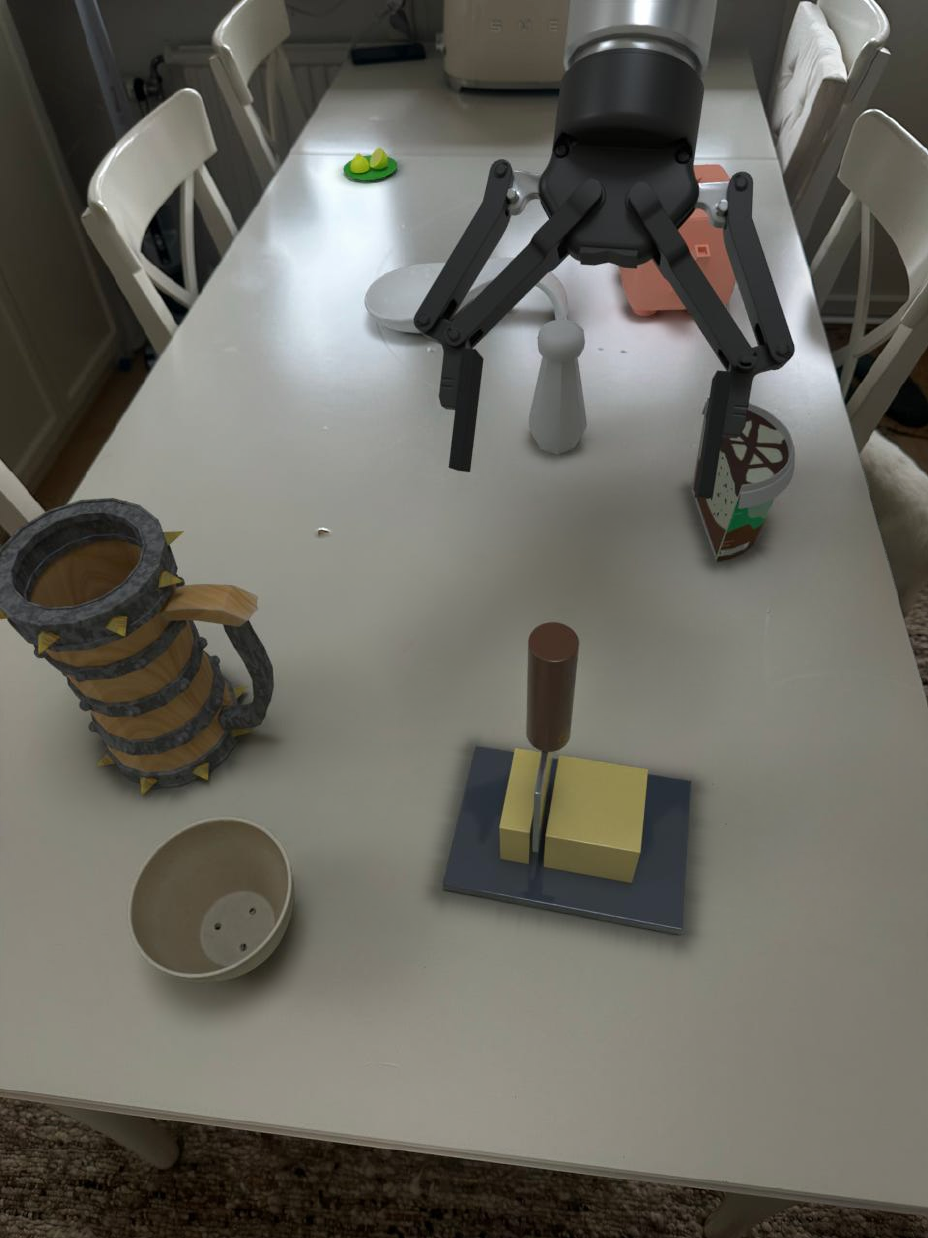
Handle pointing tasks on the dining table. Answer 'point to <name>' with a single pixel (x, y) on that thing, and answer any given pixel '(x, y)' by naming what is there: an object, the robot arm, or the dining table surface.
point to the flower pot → (211, 900)
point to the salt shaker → (559, 388)
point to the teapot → (705, 247)
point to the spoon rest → (408, 287)
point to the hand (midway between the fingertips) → (578, 484)
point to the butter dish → (563, 887)
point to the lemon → (370, 166)
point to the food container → (745, 482)
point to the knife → (549, 703)
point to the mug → (134, 638)
